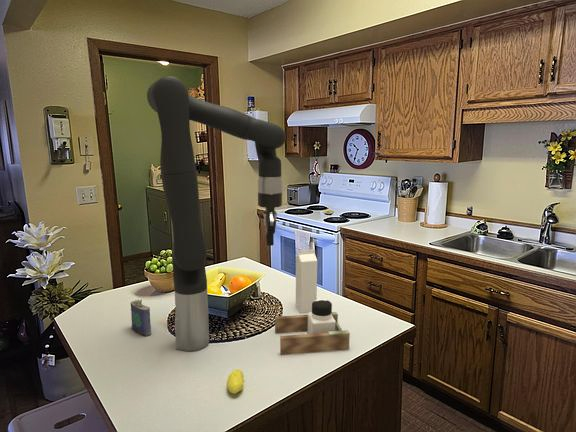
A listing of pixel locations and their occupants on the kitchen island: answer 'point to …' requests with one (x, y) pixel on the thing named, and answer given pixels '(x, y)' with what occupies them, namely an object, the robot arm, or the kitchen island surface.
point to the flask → (140, 318)
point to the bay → (309, 336)
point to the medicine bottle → (321, 317)
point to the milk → (306, 280)
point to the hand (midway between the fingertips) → (269, 244)
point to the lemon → (235, 381)
